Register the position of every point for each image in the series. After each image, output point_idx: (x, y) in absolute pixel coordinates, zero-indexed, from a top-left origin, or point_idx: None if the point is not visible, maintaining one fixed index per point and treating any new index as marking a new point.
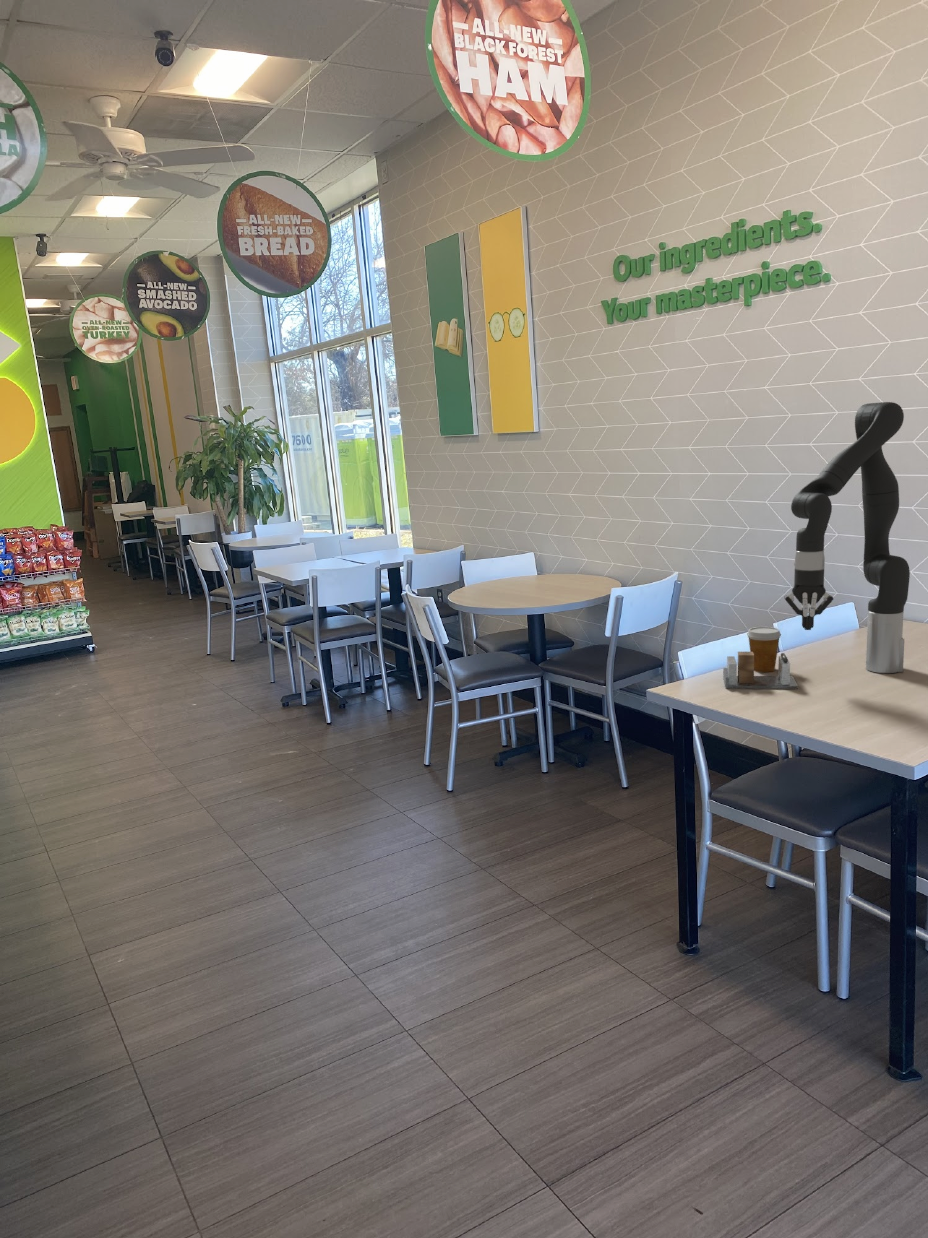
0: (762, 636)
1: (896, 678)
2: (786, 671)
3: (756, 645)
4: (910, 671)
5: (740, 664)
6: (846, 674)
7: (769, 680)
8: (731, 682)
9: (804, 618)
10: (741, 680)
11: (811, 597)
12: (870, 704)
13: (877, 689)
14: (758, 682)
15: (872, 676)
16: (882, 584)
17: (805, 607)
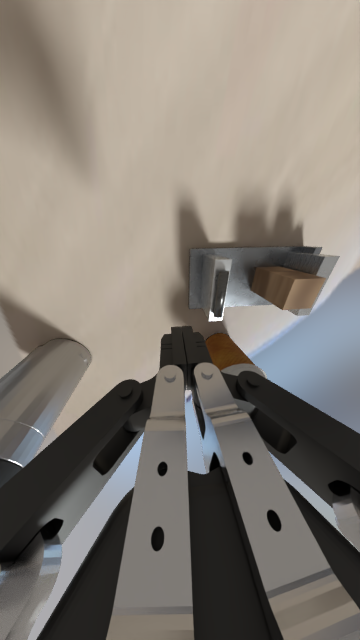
0: (250, 370)
1: (39, 318)
2: (217, 257)
3: (248, 359)
4: (30, 350)
5: (304, 273)
6: (114, 332)
7: (228, 283)
8: (300, 252)
9: (203, 361)
10: (278, 267)
11: (194, 638)
12: (35, 104)
13: (52, 253)
14: (248, 270)
15: (76, 325)
16: None
17: (229, 420)
